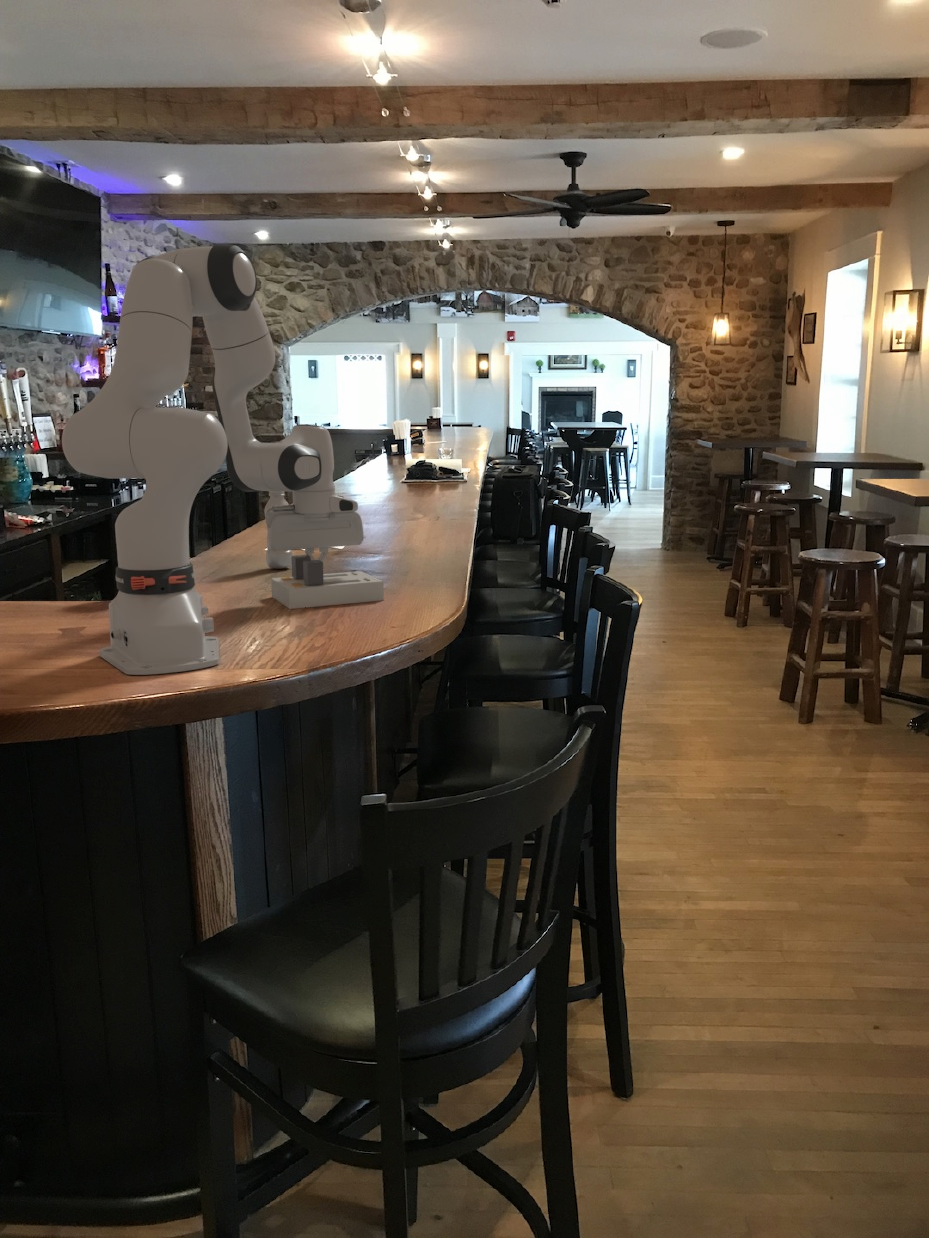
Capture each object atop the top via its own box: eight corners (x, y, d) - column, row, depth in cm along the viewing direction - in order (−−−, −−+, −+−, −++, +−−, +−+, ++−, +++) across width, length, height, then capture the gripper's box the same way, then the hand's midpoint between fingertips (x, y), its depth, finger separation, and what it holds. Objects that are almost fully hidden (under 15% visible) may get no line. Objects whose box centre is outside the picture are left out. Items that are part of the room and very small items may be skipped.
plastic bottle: (265, 567, 236) (261, 487, 231) (292, 566, 238) (288, 487, 233) (267, 571, 230) (263, 489, 225) (295, 570, 232) (291, 489, 227)
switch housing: (383, 600, 194) (383, 579, 193) (289, 608, 186) (288, 587, 185) (361, 589, 207) (360, 569, 206) (271, 596, 198) (271, 576, 197)
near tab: (323, 584, 189) (322, 562, 188) (308, 585, 188) (307, 563, 187) (318, 581, 192) (318, 559, 191) (303, 582, 191) (302, 561, 190)
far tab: (311, 578, 196) (310, 556, 195) (296, 579, 195) (295, 557, 194) (306, 575, 199) (305, 554, 198) (292, 576, 198) (291, 555, 197)
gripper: (268, 507, 188) (272, 575, 191) (365, 502, 196) (367, 567, 199) (261, 505, 193) (265, 570, 196) (355, 499, 202) (357, 562, 205)
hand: (317, 568), depth 198 cm, fingers closed
